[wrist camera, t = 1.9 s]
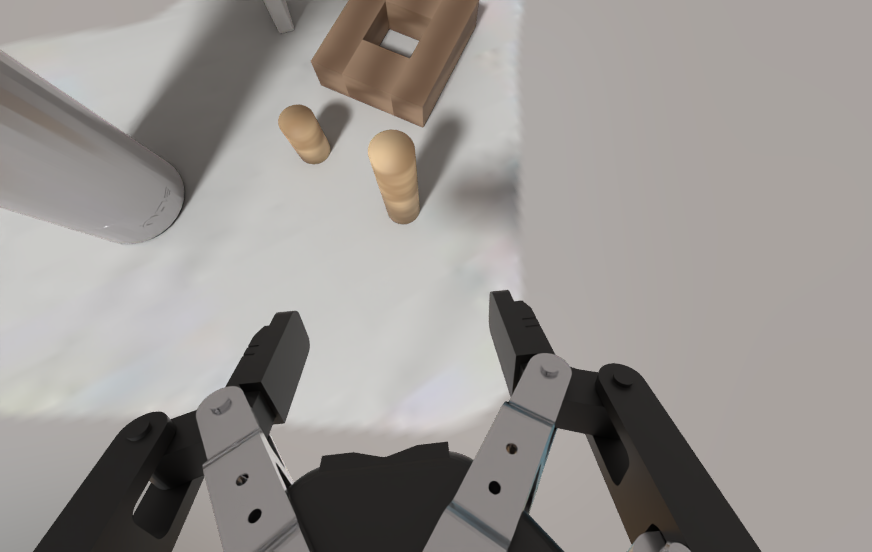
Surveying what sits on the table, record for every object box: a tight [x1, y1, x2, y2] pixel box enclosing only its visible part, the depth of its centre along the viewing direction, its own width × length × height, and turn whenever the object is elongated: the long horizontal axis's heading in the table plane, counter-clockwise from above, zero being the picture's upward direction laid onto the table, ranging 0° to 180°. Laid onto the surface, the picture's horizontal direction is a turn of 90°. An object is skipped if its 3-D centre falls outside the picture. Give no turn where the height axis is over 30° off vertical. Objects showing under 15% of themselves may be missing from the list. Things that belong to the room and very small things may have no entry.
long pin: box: [368, 130, 420, 224], centre depth 27 cm, size 3×3×10 cm
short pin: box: [278, 105, 330, 164], centre depth 30 cm, size 3×3×4 cm
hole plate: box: [311, 0, 479, 127], centre depth 34 cm, size 12×14×3 cm
